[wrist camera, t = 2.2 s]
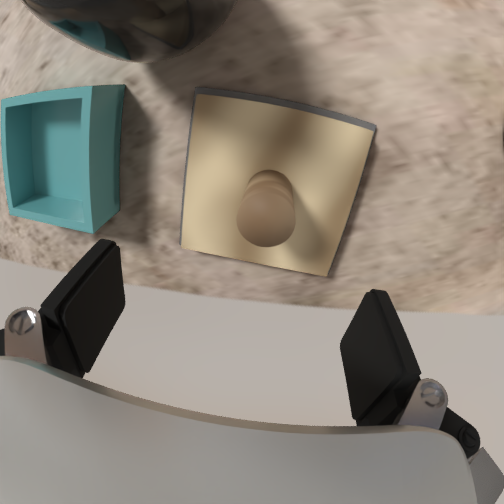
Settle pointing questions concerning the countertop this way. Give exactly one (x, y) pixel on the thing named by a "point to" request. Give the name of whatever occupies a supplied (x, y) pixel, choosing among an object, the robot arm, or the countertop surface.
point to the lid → (270, 183)
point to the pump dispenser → (134, 25)
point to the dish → (63, 155)
